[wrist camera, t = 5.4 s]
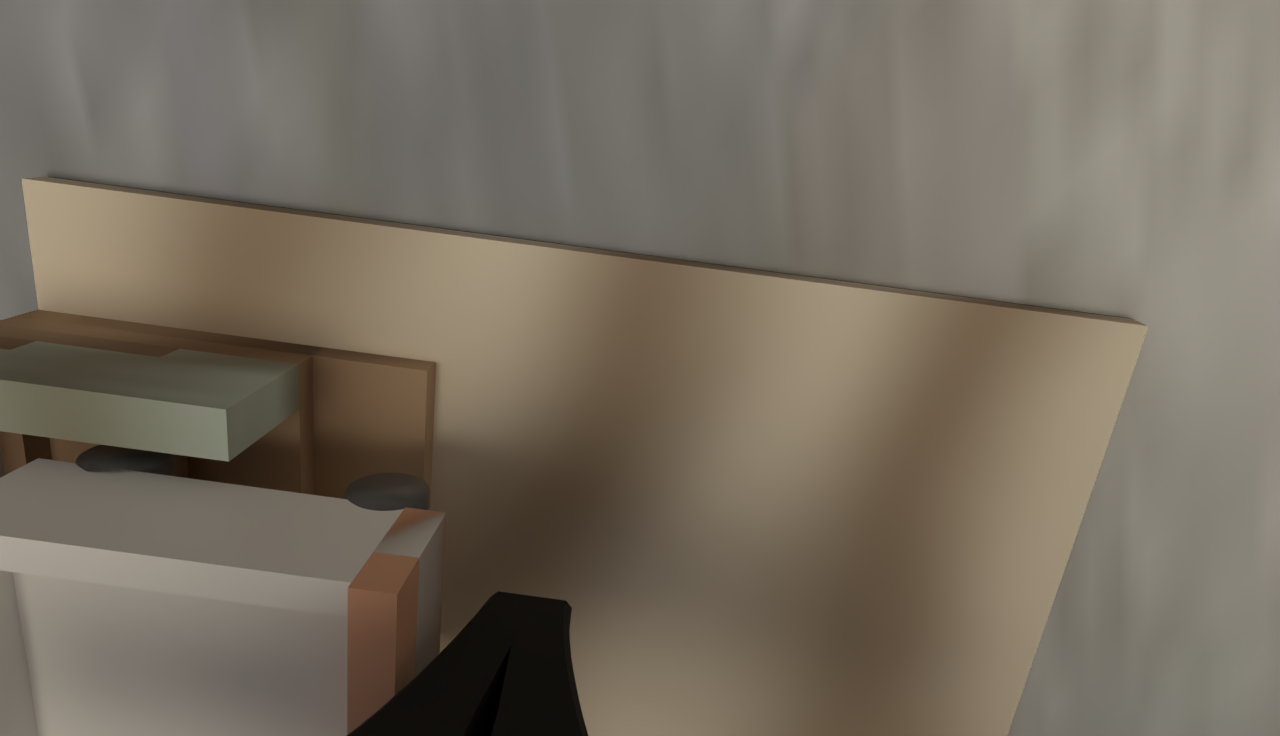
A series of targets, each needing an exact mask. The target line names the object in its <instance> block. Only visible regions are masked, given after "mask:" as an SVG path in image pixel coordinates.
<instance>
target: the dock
mask: <svg viewBox="0 0 1280 736" xmlns="http://www.w3.org/2000/svg"><path fill="white" fill-rule="evenodd" d="M22 185H23V193H24V201H25V209H26V216H27V224H28V232H29V239H30V247H31V255H32V263H33V270H34V278H35V286H36V294H37V301H38V309H39V310H36V311H32V312H29V313H25V314H22V315H18V316H15V317H11V318H8V319H4V320H0V478H1V477H3V476H5V475H7V474H8V473H10V472H12V471H14V470H16V469H18V468H20V467H22V466H24V465H26V464H28V463H30V462H32V461H34V460H36V459H38V458H41V459H49V460H56V461H64V462H71V463H76V459H77V457H78V456H79V455H80V454H81V453H83V452H84V451H86V450H88V449H90V448H92V447H95V446H98V445H108V446H115V447H123V448H130V449H138V450H145V451H153V452H160V453H168V454H172V455H173V468H174V476H176V477H183V478H191V479H198V480H206V481H213V482H221V483H228V484H236V485H243V486H251V487H258V488H266V489H273V490H281V491H288V492H296V493H303V494H311V495H318V496H326V497H333V498H341V499H345V492H346V489H347V487H348V486H349V485H350V484H351V483H352V482H354V481H355V480H357V479H359V478H362V477H365V476H368V475H372V474H378V473H403V474H409V475H413V476H416V477H418V478H420V479H422V480H423V481H425V482H426V483H427V484H428V486H429V489H430V495H429V510H430V511H438V512H445V513H446V530H445V550H444V571H443V592H442V613H441V633H440V652H441V651H442V650H443V649H444V648H445V647H446V646H447V645H448V644H449V643H450V642H451V641H452V640H453V639H454V638H455V637H456V636H457V635H458V634H459V633H460V631H461V630H462V629H463V628H464V627H465V626H466V625H467V624H468V623H469V622H470V620H471V619H472V618H473V617H474V616H475V615H476V614H477V612H478V611H479V610H480V609H481V608H482V606H483V605H484V604H485V603H486V602H487V600H488V599H489V598H490V597H491V596H492V595H493V594H495V593H496V592H498V591H500V592H507V593H514V594H522V595H529V596H536V597H544V598H551V599H558V600H566V601H567V602H568V604H569V605H570V606H571V607H572V612H571V621H570V630H569V632H570V647H571V658H572V665H573V671H574V677H575V682H576V687H577V692H578V697H579V702H580V706H581V710H582V714H583V718H584V722H585V725H586V729H587V733H588V736H1008V733H1009V730H1010V727H1011V724H1012V721H1013V718H1014V715H1015V713H1016V710H1017V707H1018V704H1019V701H1020V698H1021V695H1022V692H1023V689H1024V687H1025V684H1026V681H1027V678H1028V675H1029V672H1030V669H1031V666H1032V663H1033V660H1034V658H1035V655H1036V652H1037V649H1038V646H1039V643H1040V640H1041V637H1042V634H1043V632H1044V629H1045V626H1046V623H1047V620H1048V617H1049V614H1050V611H1051V608H1052V605H1053V603H1054V600H1055V597H1056V594H1057V591H1058V588H1059V585H1060V582H1061V579H1062V576H1063V574H1064V571H1065V568H1066V565H1067V562H1068V559H1069V556H1070V553H1071V550H1072V548H1073V545H1074V542H1075V539H1076V536H1077V533H1078V530H1079V527H1080V524H1081V521H1082V519H1083V516H1084V513H1085V510H1086V507H1087V504H1088V501H1089V498H1090V495H1091V493H1092V490H1093V487H1094V484H1095V481H1096V478H1097V475H1098V472H1099V469H1100V466H1101V464H1102V461H1103V458H1104V455H1105V452H1106V449H1107V446H1108V443H1109V440H1110V437H1111V435H1112V432H1113V429H1114V426H1115V423H1116V420H1117V417H1118V414H1119V411H1120V409H1121V406H1122V403H1123V400H1124V397H1125V394H1126V391H1127V388H1128V385H1129V382H1130V380H1131V377H1132V374H1133V371H1134V368H1135V365H1136V362H1137V359H1138V356H1139V354H1140V351H1141V348H1142V345H1143V342H1144V339H1145V336H1146V333H1147V330H1148V327H1149V326H1147V325H1145V324H1143V323H1140V322H1138V321H1135V320H1133V319H1128V318H1121V317H1113V316H1105V315H1098V314H1090V313H1082V312H1075V311H1067V310H1060V309H1052V308H1044V307H1037V306H1029V305H1021V304H1014V303H1006V302H998V301H991V300H983V299H976V298H968V297H960V296H953V295H945V294H937V293H930V292H922V291H914V290H907V289H899V288H892V287H884V286H876V285H869V284H861V283H853V282H846V281H838V280H830V279H823V278H815V277H807V276H800V275H792V274H785V273H777V272H769V271H762V270H754V269H746V268H739V267H731V266H723V265H716V264H708V263H701V262H693V261H685V260H678V259H670V258H662V257H655V256H647V255H639V254H632V253H624V252H617V251H609V250H601V249H594V248H586V247H578V246H571V245H563V244H555V243H548V242H540V241H532V240H525V239H517V238H510V237H502V236H494V235H487V234H479V233H471V232H464V231H456V230H448V229H441V228H433V227H426V226H418V225H410V224H403V223H395V222H387V221H380V220H372V219H364V218H357V217H349V216H342V215H334V214H326V213H319V212H311V211H303V210H296V209H288V208H280V207H273V206H265V205H257V204H250V203H242V202H235V201H227V200H219V199H212V198H204V197H196V196H189V195H181V194H173V193H166V192H158V191H151V190H143V189H135V188H128V187H120V186H112V185H105V184H97V183H89V182H82V181H74V180H67V179H59V178H51V177H35V178H22Z"/></svg>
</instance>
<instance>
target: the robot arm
mask: <svg viewBox="0 0 1280 736" xmlns="http://www.w3.org/2000/svg"><path fill="white" fill-rule="evenodd" d="M571 612H572V607H571V606H570V605H569V604H568V602H567V601H566V600H558V599H551V598H544V597H536V596H529V595H522V594H514V593H507V592H500V591H498V592H496V593H495V594H493V595H492V596H491V597H490V598H489V599H488V600H487V602H486V603H485V604H484V605H483V606H482V608H481V609H480V610H479V611H478V612H477V614H476V615H475V616H474V617H473V618H472V619H471V620H470V622H469V623H468V624H467V625H466V626H465V627H464V628H463V629H462V630H461V631H460V633H459V634H458V635H457V636H456V637H455V638H454V639H453V640H452V641H451V642H450V643H449V644H448V645H447V646H446V647H445V648H444V649H443V650H442V651H441V652H440V653H439V654H438V655H437V656H436V657H435V658H434V659H433V660H432V661H431V662H430V663H429V664H428V665H427V666H426V667H425V668H424V669H423V670H422V671H421V672H420V673H419V674H418V675H417V676H416V677H415V678H414V679H413V680H412V681H411V682H409V683H408V684H407V685H406V686H405V687H404V688H403V689H402V690H400V691H399V692H398V693H397V694H396V695H395V696H394V697H393V698H391V699H390V700H389V701H388V702H387V703H386V704H385V705H384V706H383V707H381V708H380V709H379V710H378V711H377V712H375V713H374V714H373V715H372V716H371V717H369V718H368V719H367V720H366V721H364V722H363V723H362V724H361V725H359V726H358V727H357V728H356V729H354V730H353V731H352V732H351V733H349V734H348V735H347V736H588V733H587V729H586V725H585V722H584V718H583V714H582V710H581V706H580V702H579V697H578V692H577V687H576V682H575V677H574V671H573V665H572V658H571V647H570V632H569V630H570V621H571Z"/></svg>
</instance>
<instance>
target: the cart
mask: <svg viewBox="0 0 1280 736" xmlns="http://www.w3.org/2000/svg"><path fill="white" fill-rule="evenodd" d="M429 495H430V489H429V486H428V484H427V483H426V482H425V481H423V480H422V479H420V478H418V477H416V476H413V475H409V474H403V473H378V474H372V475H368V476H365V477H362V478H359V479H357V480H355V481H354V482H352V483H351V484H350V485H349V486H348V487H347V489H346V492H345V499H341V498H333V497H326V496H318V495H311V494H303V493H296V492H288V491H281V490H273V489H266V488H258V487H251V486H243V485H236V484H228V483H221V482H213V481H206V480H198V479H191V478H183V477H176V476H174V468H173V455H172V454H168V453H160V452H153V451H145V450H138V449H130V448H123V447H115V446H108V445H98V446H95V447H92V448H90V449H88V450H86V451H84V452H83V453H81V454H80V455H79V456H78V457H77V459H76V463H71V462H64V461H56V460H49V459H41V458H38V459H36V460H34V461H32V462H30V463H28V464H26V465H24V466H22V467H20V468H18V469H16V470H14V471H12V472H10V473H8V474H7V475H5V476H3V477H1V478H0V736H347V735H348V734H349V733H351V732H352V731H353V730H354V729H356V728H357V727H358V726H359V725H361V724H362V723H363V722H364V721H366V720H367V719H368V718H369V717H371V716H372V715H373V714H374V713H375V712H377V711H378V710H379V709H380V708H381V707H383V706H384V705H385V704H386V703H387V702H388V701H389V700H390V699H391V698H393V697H394V696H395V695H396V694H397V693H398V692H399V691H400V690H402V689H403V688H404V687H405V686H406V685H407V684H408V683H409V682H411V681H412V680H413V679H414V678H415V677H416V676H417V675H418V674H419V673H420V672H421V671H422V670H423V669H424V668H425V667H426V666H427V665H428V664H429V663H430V662H431V661H432V660H433V659H434V658H435V657H436V656H437V655H438V654H439V653H440V633H441V613H442V592H443V571H444V550H445V530H446V513H445V512H438V511H430V510H429Z"/></svg>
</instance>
